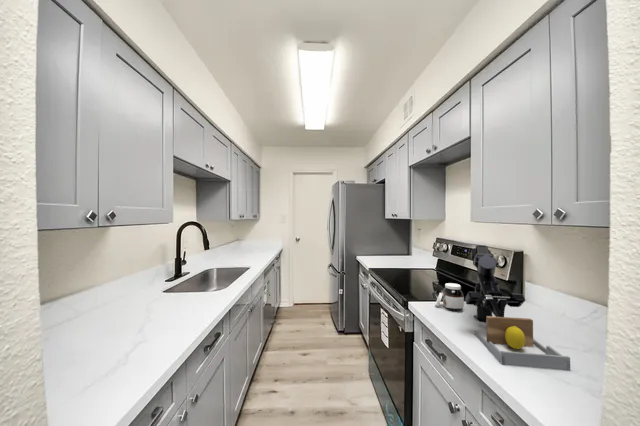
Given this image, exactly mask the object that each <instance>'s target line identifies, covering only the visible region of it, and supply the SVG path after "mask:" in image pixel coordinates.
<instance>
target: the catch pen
mask: <svg viewBox="0 0 640 426" xmlns="http://www.w3.org/2000/svg"><path fill="white" fill-rule="evenodd" d="M473 333H474V335H475V337H476V338H477V339H478V340H479V341H480V342H481V344H483V346H484V347H486V348H487V350H488V351H489V352H490V353H491V354H492V356H494V358H495V359H496V360H497V361H498V362H499V363H500V364H501V365H502V366H512V367H513V366H514V367H525V368H536V369H537V368H538V369H548V370H559V371H560V370H561V371H571V357H570V356H569V355H563V354H561V353H560V352H558V351H557V350H555V349H554V347H551V346H550V345H546V347H545V346H544V345H543V344H541V343H540V342H539V341H537V340H536V339H535V338H533V346H535V347H536V348H537V349H539V350H540V351H541V352H543V353H544V354H543V353H532V352H531V353H530V352H517V351H505V350H500V349H499V348H498V347H497V346H496V344H493V343H492V342H487V339H485V338H484V337H483V336H482V335H481V334H480V332H478V331H477V330H474V332H473Z"/></svg>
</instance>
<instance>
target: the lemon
mask: <svg viewBox="0 0 640 426" xmlns="http://www.w3.org/2000/svg"><path fill="white" fill-rule="evenodd" d="M505 339H506V342H507V344H508V345H507V346H509V347H510V348H512V349H513V350H515V351H516V350H519V349H520V350H521V349H522V348H524V347H525V346H524V345H525V336H524V333H523V332H522V330H521V329H519V328H517V327H516V326H513V327H509V328H507V330H506V332H505Z"/></svg>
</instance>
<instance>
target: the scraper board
mask: <svg viewBox="0 0 640 426" xmlns="http://www.w3.org/2000/svg"><path fill="white" fill-rule="evenodd" d="M485 323H486V341H487V342H492V343H493V344H494V345H504V346H505V345H507V346H509V345H508V344H507V342H506V339H505V332H506V330H507V328H509V327H513V326H516V327H517V328H519V329H521V330H522V332H523V333H524V336H525V345H524V346H523V347H534V344H533V339H534V320H533V319H532V318H526V317H509V316H508V317H507V316H504V317H496V316H495V315H492V316H486V322H485Z"/></svg>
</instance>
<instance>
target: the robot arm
mask: <svg viewBox="0 0 640 426" xmlns="http://www.w3.org/2000/svg"><path fill="white" fill-rule="evenodd" d="M470 252H471V253H470V259H471V260H470V261H472V265H473V266H474V267H475V268H476V276H477V283H475V286H474V291H472V290H471V291H467V294H466V296H464V297H465V298H464V300H465V301H464V302H465V304H466V305H472V306H476V315H475V314H473V317H474V318H475V319H476V321H478V322H479V323H486V316H494V317H505V309H506V306H508V307H511V308H519V307H522V305H523V304H524V303H525V302H526V298H525V296H524V295H523V294H522V293H512V292H510V293H509V294H508V296H503V294H504V293H503V291H502V290H500V287H499V280H497V279H496V276H495V273H496V268H497V267H499V262H498V260H497V259H496V258H495V257H494V255H493V254H492V251H491V250H489V247H488V246H487V245H484V244H483V245H479V244H477V245H475V248H473V249H472V250H471V251H470Z"/></svg>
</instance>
